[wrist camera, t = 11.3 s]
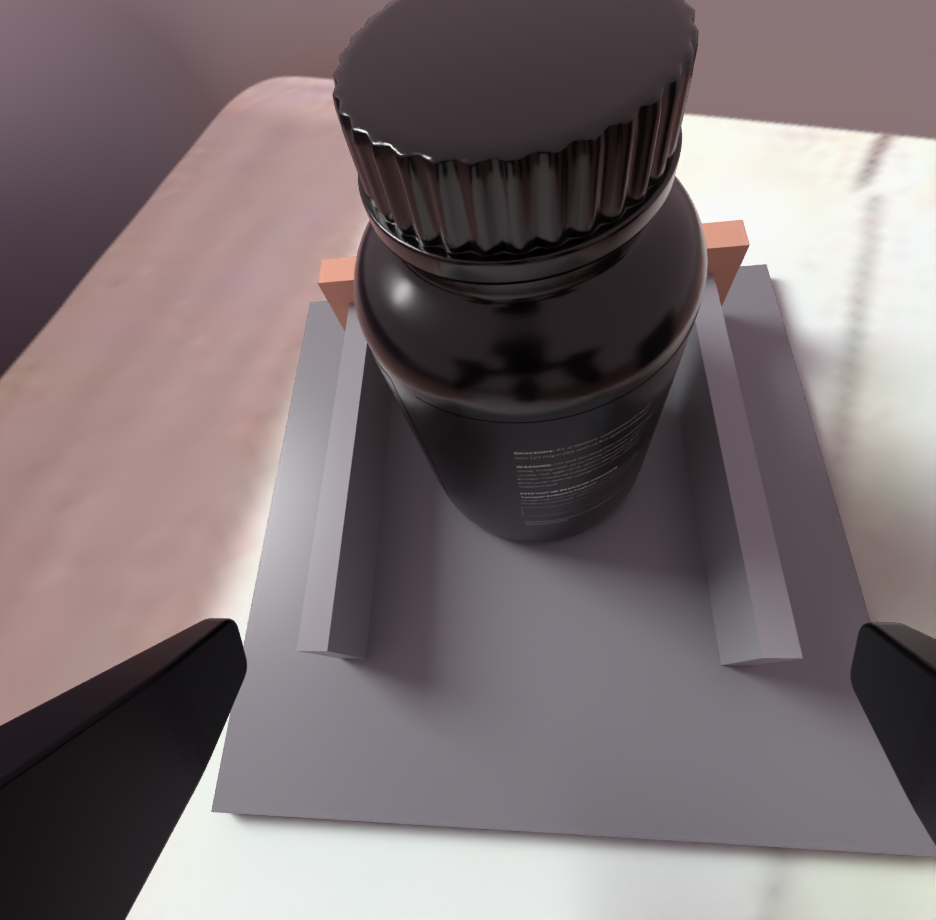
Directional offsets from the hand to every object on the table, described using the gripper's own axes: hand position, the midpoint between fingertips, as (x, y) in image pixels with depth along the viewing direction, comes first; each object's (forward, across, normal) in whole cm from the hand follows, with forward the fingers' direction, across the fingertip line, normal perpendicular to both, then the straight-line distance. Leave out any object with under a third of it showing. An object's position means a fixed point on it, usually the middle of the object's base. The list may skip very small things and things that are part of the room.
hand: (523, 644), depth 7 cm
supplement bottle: (+10, 0, +1) cm, 11 cm away
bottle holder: (+10, 0, +2) cm, 10 cm away
